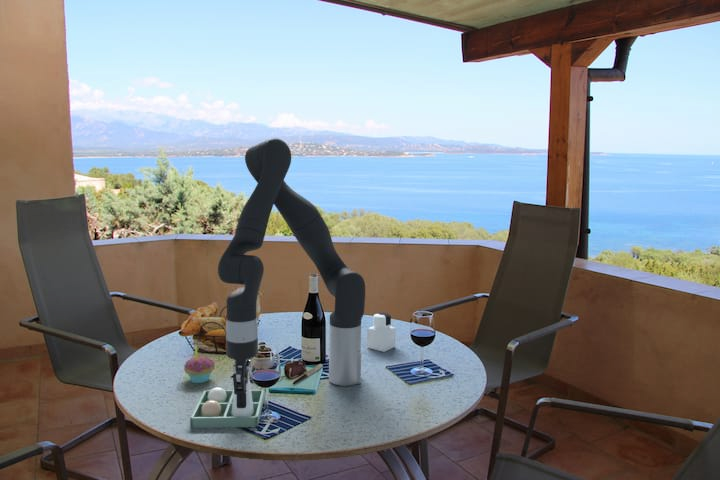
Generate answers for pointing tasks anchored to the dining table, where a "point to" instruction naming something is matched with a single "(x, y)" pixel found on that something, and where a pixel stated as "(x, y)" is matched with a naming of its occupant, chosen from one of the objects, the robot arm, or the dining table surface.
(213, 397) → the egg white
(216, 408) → the egg brown
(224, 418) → the egg tray
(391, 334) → the medicine bottle
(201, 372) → the cupcake
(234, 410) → the salt shaker
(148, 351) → the dining table surface
